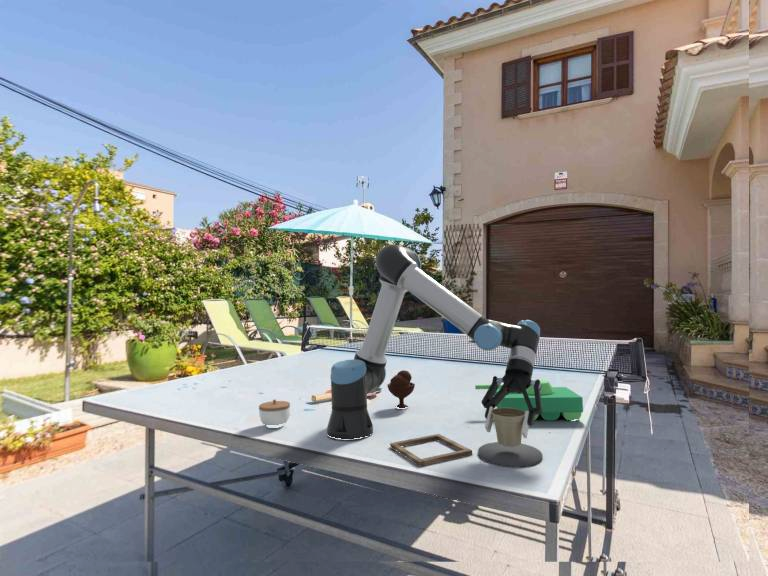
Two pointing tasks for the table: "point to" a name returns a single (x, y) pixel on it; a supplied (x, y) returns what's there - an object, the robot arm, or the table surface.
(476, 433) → the table surface
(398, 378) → the ice cream bowl
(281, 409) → the lidded jar
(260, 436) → the table surface
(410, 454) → the walnut frame
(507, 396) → the toy tank
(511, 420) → the flower pot
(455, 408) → the table surface
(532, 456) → the rubber mat
